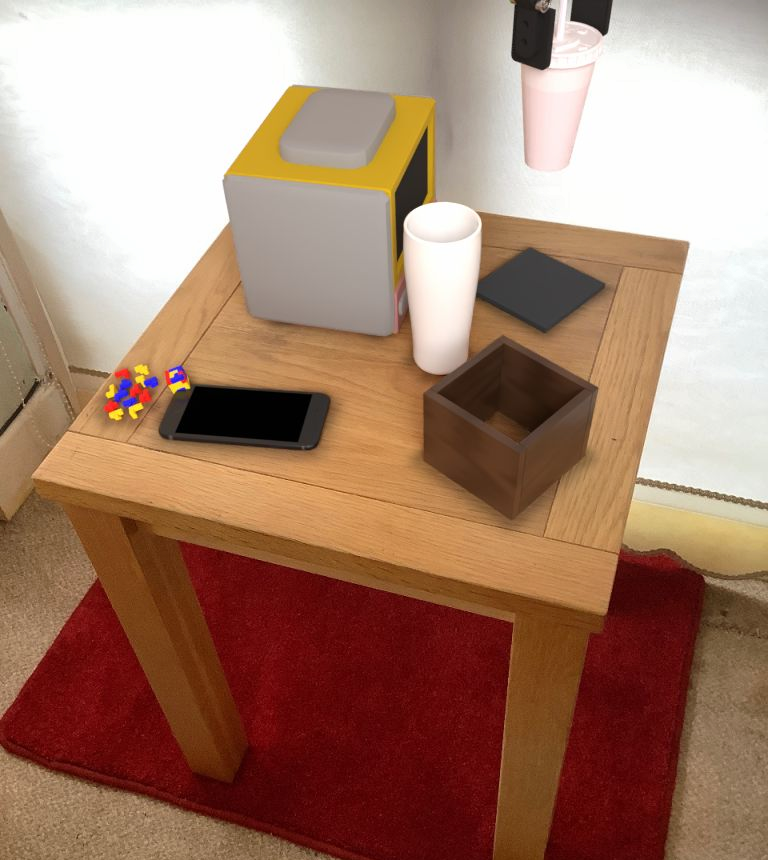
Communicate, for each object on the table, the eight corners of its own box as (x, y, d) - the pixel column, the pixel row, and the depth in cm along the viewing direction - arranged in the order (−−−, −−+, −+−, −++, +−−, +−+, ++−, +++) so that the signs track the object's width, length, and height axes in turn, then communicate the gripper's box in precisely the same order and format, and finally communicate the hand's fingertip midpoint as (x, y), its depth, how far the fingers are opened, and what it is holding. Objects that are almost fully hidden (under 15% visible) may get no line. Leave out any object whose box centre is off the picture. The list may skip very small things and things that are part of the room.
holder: (585, 456, 76) (599, 387, 70) (512, 520, 72) (519, 453, 65) (497, 402, 81) (502, 334, 74) (423, 460, 76) (422, 392, 70)
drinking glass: (399, 378, 83) (394, 240, 72) (414, 333, 88) (412, 197, 76) (468, 387, 82) (475, 249, 71) (480, 342, 86) (488, 204, 75)
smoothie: (501, 175, 71) (514, -15, 60) (515, 138, 75) (530, -47, 64) (580, 184, 69) (608, -9, 59) (591, 145, 73) (618, -42, 63)
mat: (604, 288, 91) (605, 283, 91) (545, 333, 87) (545, 328, 86) (529, 251, 96) (529, 247, 95) (469, 292, 92) (469, 288, 91)
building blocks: (105, 422, 80) (114, 434, 81) (185, 391, 80) (193, 403, 81) (101, 377, 84) (110, 389, 85) (177, 347, 84) (185, 359, 85)
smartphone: (179, 386, 84) (177, 379, 83) (333, 397, 82) (332, 390, 81) (156, 441, 79) (153, 434, 78) (317, 455, 77) (316, 448, 76)
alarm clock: (398, 357, 85) (392, 182, 71) (247, 335, 88) (212, 163, 74) (442, 245, 97) (444, 77, 83) (307, 230, 100) (288, 64, 86)
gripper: (558, -235, 46) (528, 104, 60) (727, -289, 54) (666, 23, 67) (450, -250, 49) (446, 74, 63) (624, -299, 57) (586, 0, 71)
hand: (560, 45), depth 65 cm, fingers closed on smoothie, 6 cm apart
